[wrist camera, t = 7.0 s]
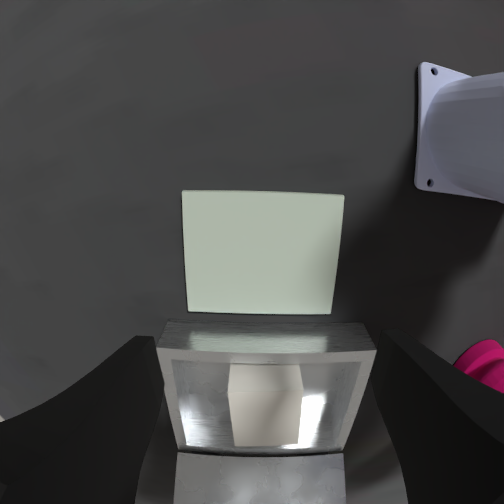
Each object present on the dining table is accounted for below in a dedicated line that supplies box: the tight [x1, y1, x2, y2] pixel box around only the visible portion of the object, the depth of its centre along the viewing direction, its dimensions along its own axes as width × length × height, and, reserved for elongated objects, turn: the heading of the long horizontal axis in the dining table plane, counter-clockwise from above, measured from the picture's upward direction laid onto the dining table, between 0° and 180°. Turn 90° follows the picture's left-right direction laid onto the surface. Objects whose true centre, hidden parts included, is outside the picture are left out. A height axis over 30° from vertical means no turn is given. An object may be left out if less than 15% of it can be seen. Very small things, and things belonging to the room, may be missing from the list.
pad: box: [182, 190, 344, 314], centre depth 19 cm, size 9×8×1 cm
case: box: [156, 319, 377, 457], centre depth 21 cm, size 13×14×5 cm
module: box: [228, 363, 303, 446], centre depth 20 cm, size 4×6×4 cm
